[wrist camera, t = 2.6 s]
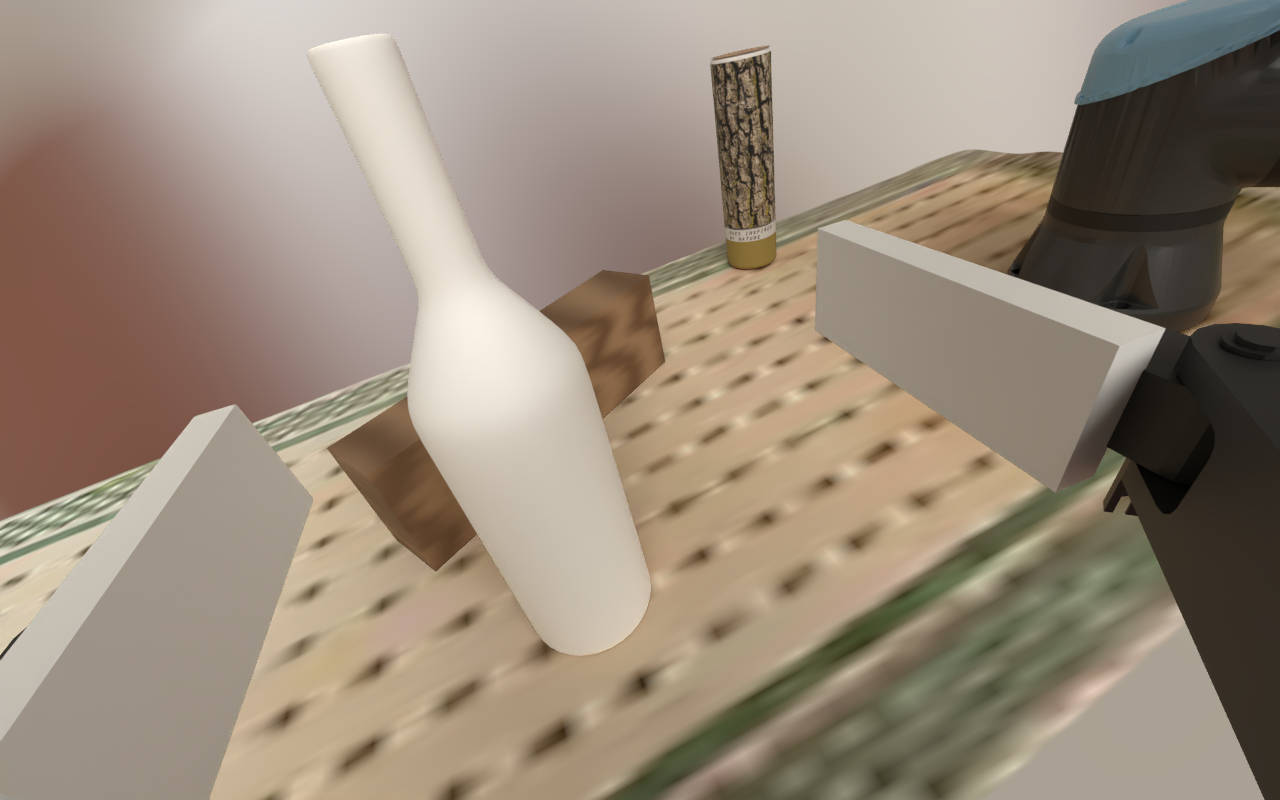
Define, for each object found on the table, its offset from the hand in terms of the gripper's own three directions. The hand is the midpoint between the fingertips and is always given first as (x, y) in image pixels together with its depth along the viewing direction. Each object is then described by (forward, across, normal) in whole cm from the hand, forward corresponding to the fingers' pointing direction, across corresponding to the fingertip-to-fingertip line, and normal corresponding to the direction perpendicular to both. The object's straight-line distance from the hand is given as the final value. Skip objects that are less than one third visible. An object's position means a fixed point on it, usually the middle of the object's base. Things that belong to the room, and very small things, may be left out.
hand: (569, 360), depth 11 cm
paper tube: (+52, +31, -22) cm, 65 cm away
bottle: (+10, -3, -23) cm, 25 cm away
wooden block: (+28, -3, -23) cm, 36 cm away
